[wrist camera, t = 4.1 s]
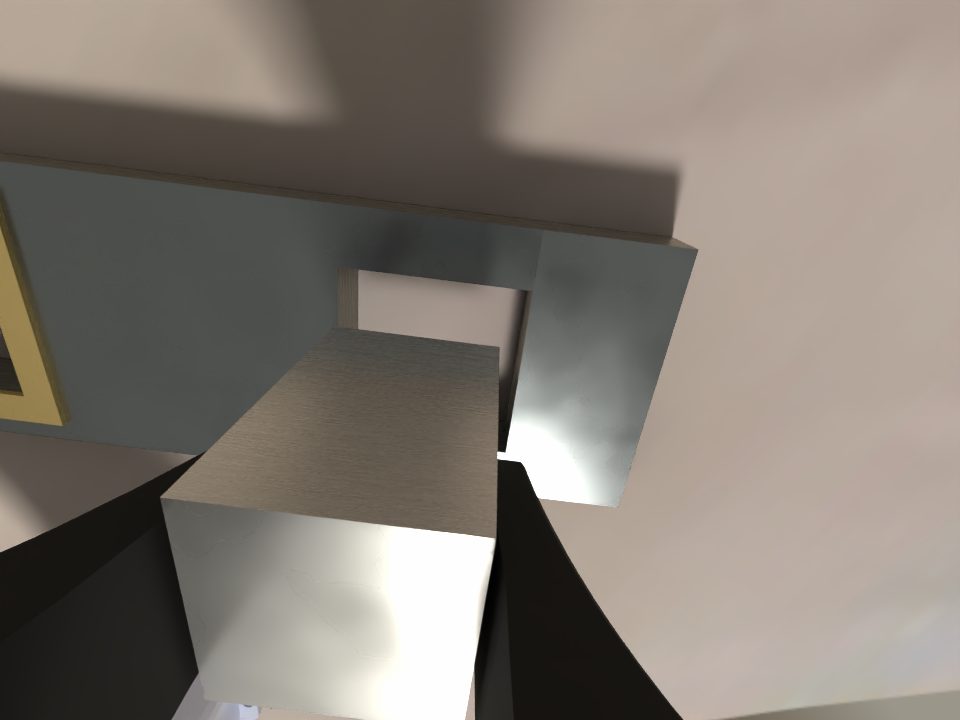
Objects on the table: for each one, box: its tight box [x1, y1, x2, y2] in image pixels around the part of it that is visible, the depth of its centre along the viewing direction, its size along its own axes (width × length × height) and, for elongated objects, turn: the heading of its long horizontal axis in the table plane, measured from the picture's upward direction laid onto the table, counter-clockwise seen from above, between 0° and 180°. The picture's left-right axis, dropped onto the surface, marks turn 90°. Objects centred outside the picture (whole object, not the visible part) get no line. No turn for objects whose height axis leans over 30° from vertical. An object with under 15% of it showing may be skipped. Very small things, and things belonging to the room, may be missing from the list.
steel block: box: [160, 326, 500, 720], centre depth 9 cm, size 4×4×6 cm
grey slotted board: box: [0, 153, 698, 507], centre depth 15 cm, size 9×30×2 cm, turn 83°
